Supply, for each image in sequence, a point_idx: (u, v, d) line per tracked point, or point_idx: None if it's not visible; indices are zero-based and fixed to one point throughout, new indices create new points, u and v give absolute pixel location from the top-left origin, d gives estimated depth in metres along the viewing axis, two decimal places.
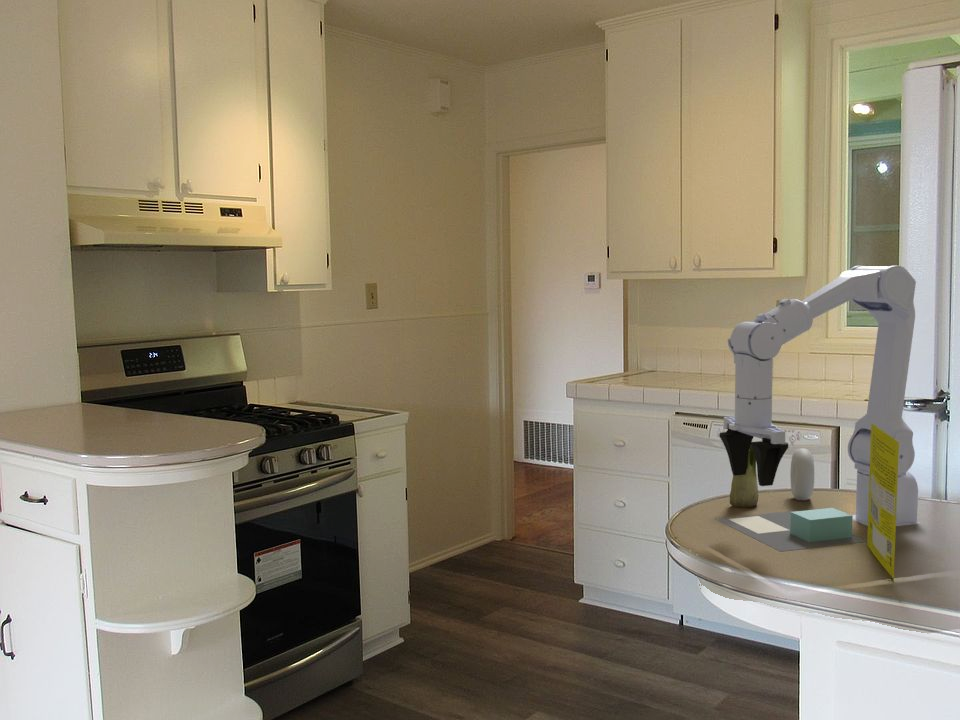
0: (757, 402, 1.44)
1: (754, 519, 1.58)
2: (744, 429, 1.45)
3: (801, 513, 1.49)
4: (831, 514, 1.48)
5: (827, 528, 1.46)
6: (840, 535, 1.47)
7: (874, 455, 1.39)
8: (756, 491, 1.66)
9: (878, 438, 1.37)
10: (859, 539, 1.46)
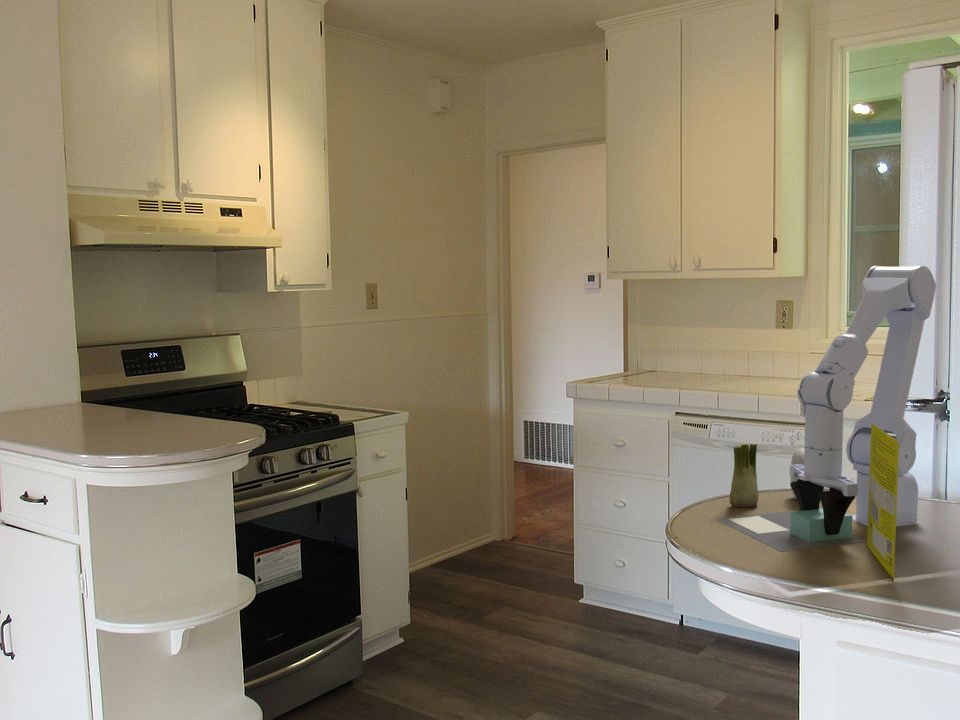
0: (828, 453, 1.44)
1: (754, 519, 1.58)
2: (815, 480, 1.45)
3: (801, 513, 1.49)
4: None
5: None
6: (840, 535, 1.47)
7: (874, 455, 1.39)
8: (756, 491, 1.66)
9: (878, 438, 1.37)
10: (859, 539, 1.46)
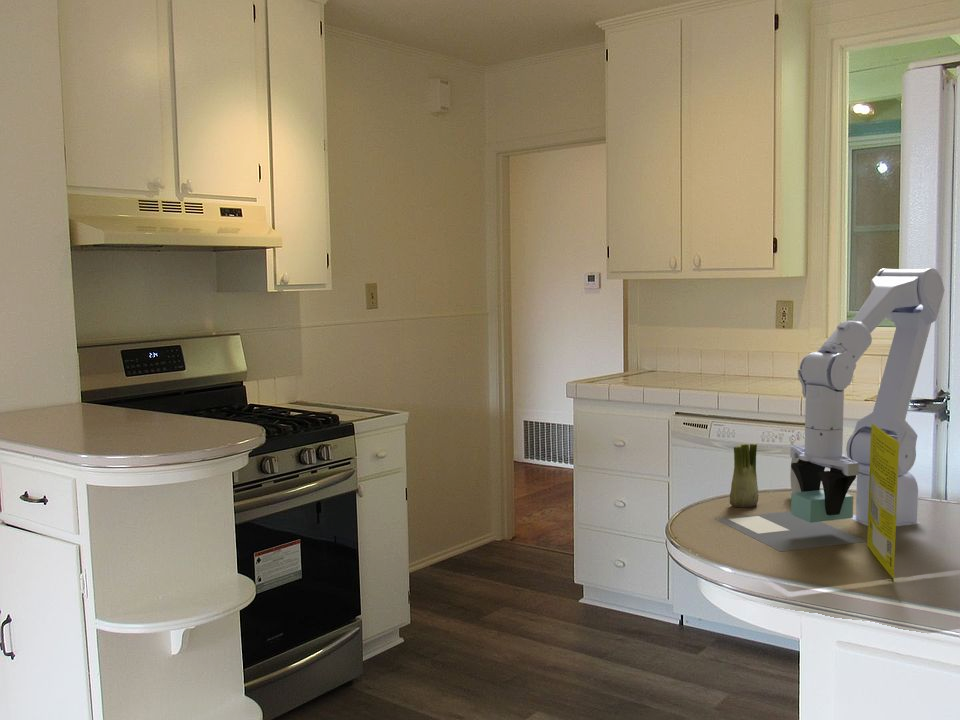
0: (829, 433, 1.44)
1: (754, 519, 1.58)
2: (815, 460, 1.45)
3: (802, 494, 1.48)
4: None
5: None
6: (841, 516, 1.47)
7: (874, 455, 1.39)
8: (756, 491, 1.66)
9: (878, 438, 1.37)
10: (859, 539, 1.46)
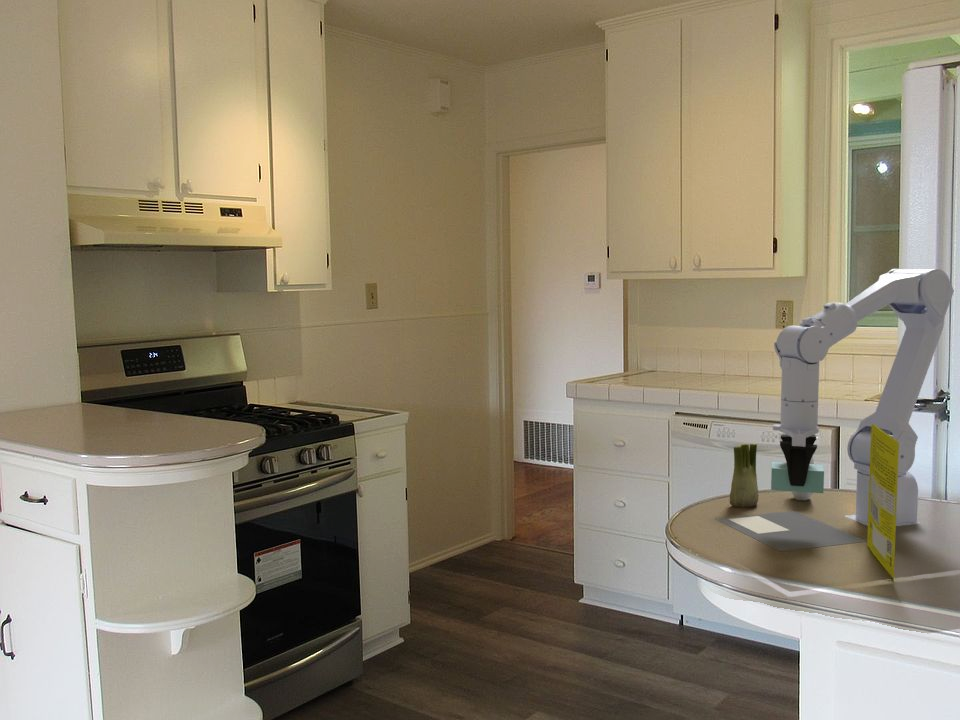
0: (792, 404, 1.47)
1: (754, 519, 1.58)
2: (781, 430, 1.49)
3: (779, 463, 1.52)
4: None
5: None
6: (809, 489, 1.47)
7: (874, 455, 1.39)
8: (756, 491, 1.66)
9: (878, 438, 1.37)
10: (859, 539, 1.46)
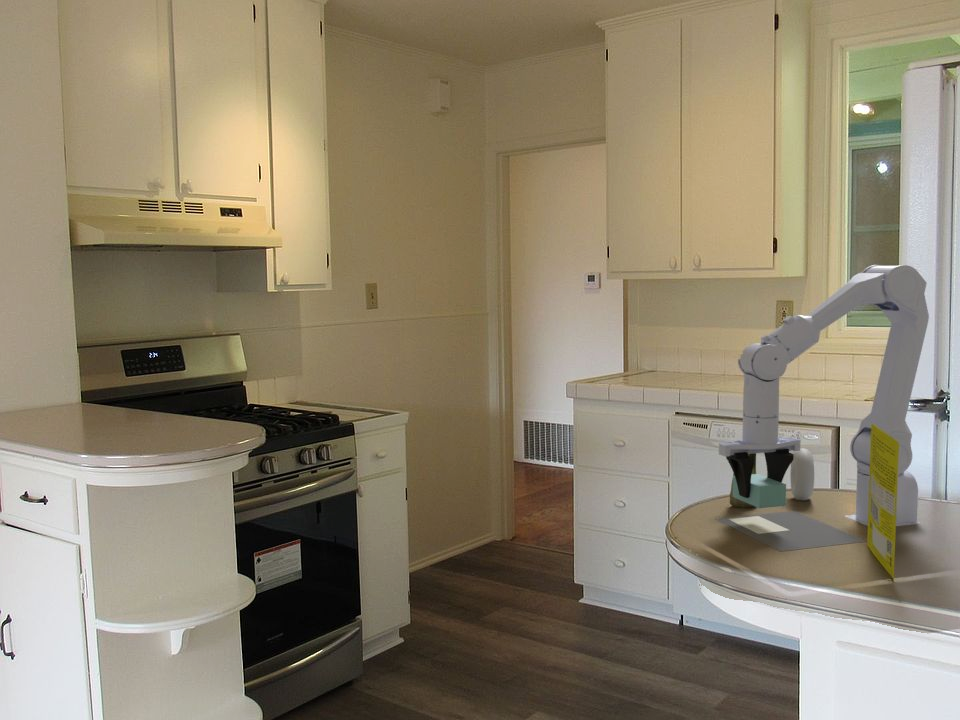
0: (743, 418, 1.53)
1: (754, 519, 1.58)
2: None
3: (755, 475, 1.57)
4: (758, 482, 1.53)
5: None
6: (751, 501, 1.52)
7: (874, 455, 1.39)
8: None
9: (878, 438, 1.37)
10: (859, 539, 1.46)
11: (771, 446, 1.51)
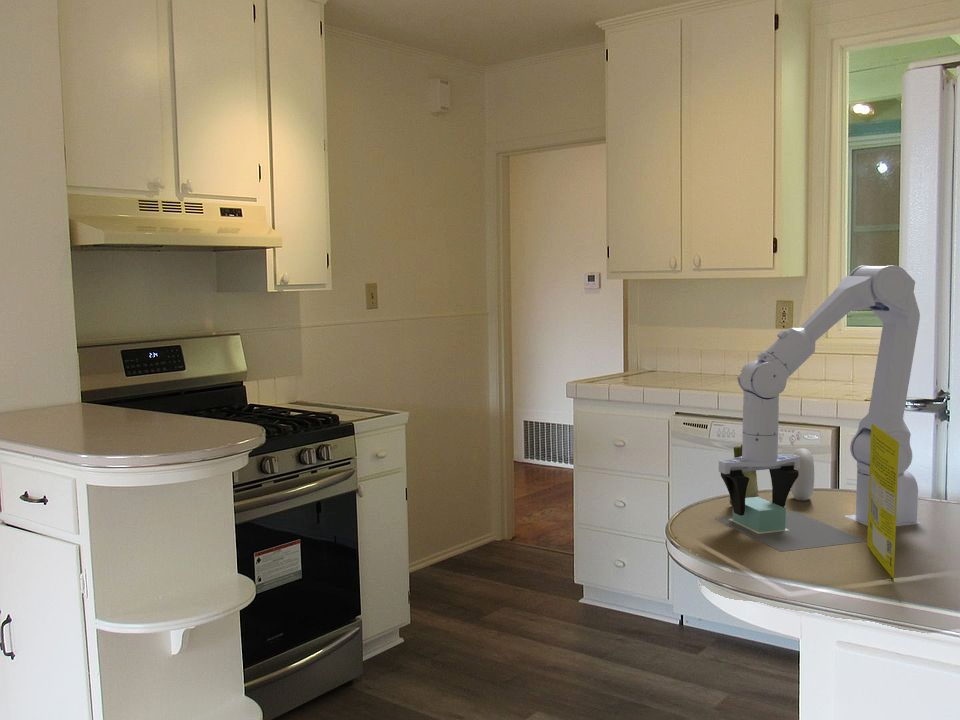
0: (743, 435, 1.54)
1: None
2: None
3: (755, 498, 1.58)
4: (758, 505, 1.53)
5: None
6: (751, 525, 1.53)
7: (874, 455, 1.39)
8: (756, 491, 1.66)
9: (878, 438, 1.37)
10: (859, 539, 1.46)
11: (771, 463, 1.51)
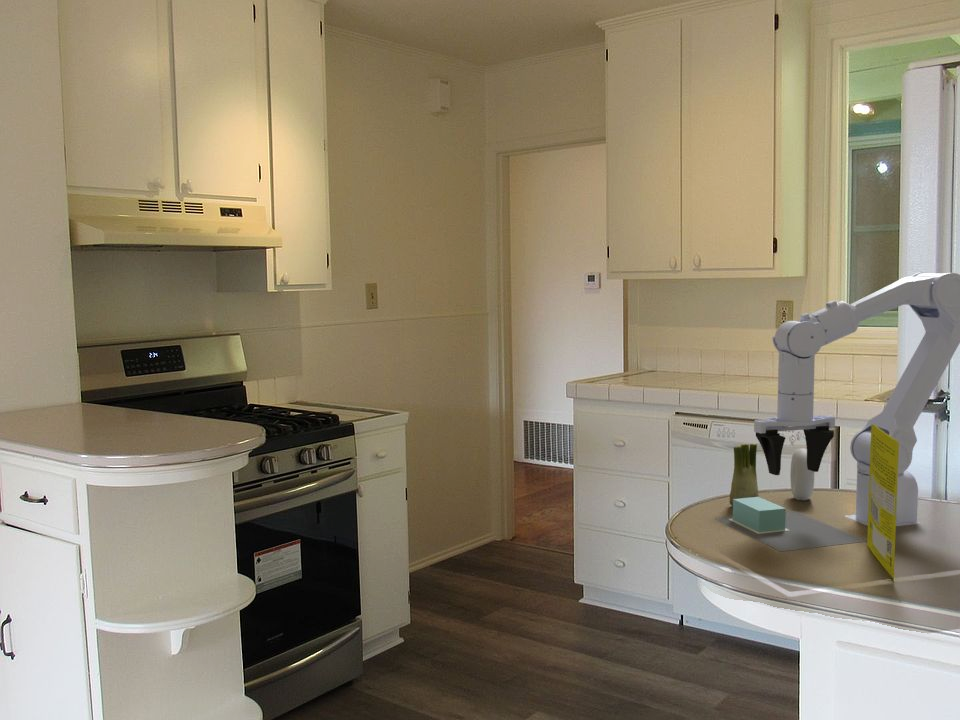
0: (778, 395, 1.54)
1: None
2: None
3: (755, 498, 1.58)
4: (758, 505, 1.53)
5: (743, 513, 1.55)
6: (751, 525, 1.53)
7: (874, 455, 1.39)
8: (756, 491, 1.66)
9: (878, 438, 1.37)
10: (859, 539, 1.46)
11: (807, 423, 1.51)
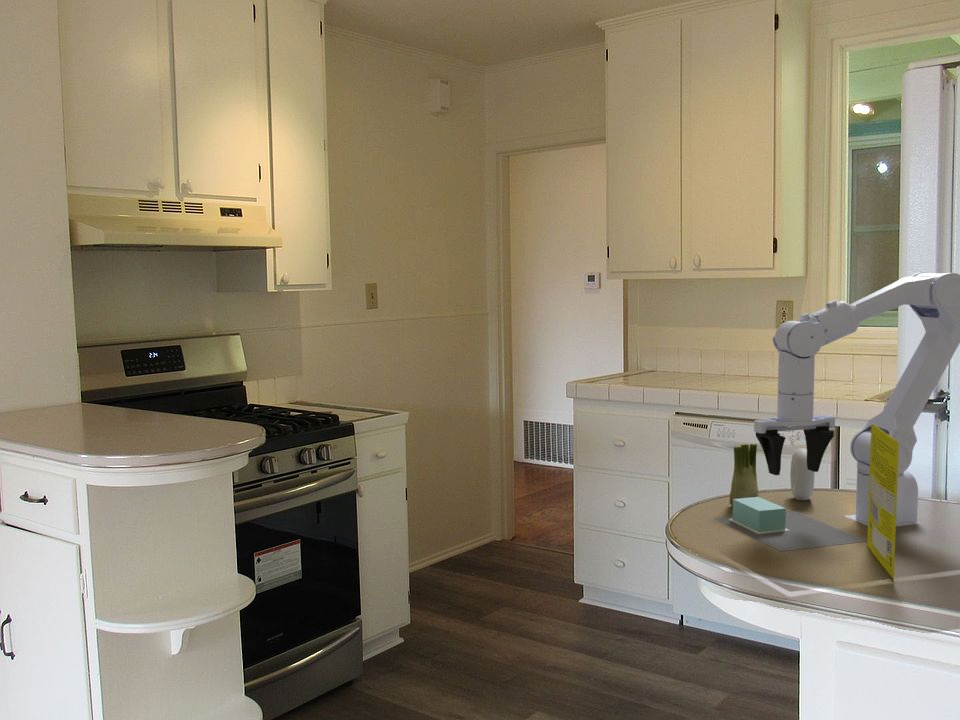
0: (778, 395, 1.54)
1: None
2: None
3: (755, 498, 1.58)
4: (758, 505, 1.53)
5: (743, 513, 1.55)
6: (751, 525, 1.53)
7: (874, 455, 1.39)
8: (756, 491, 1.66)
9: (878, 438, 1.37)
10: (859, 539, 1.46)
11: (807, 423, 1.51)
